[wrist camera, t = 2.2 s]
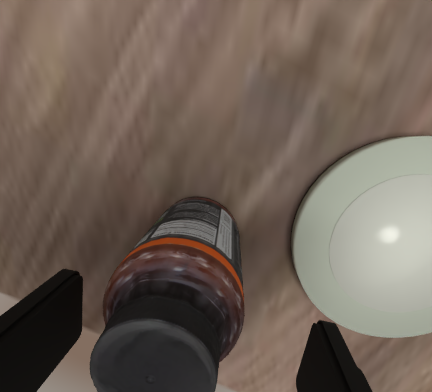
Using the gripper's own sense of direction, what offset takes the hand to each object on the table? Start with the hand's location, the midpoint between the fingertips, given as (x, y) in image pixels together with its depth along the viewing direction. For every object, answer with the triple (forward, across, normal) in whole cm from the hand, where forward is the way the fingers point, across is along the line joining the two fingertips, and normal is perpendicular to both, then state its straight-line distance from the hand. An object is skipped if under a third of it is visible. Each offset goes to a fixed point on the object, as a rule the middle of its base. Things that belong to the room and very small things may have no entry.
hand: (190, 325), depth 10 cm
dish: (+9, -12, -2) cm, 16 cm away
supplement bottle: (+9, +1, 0) cm, 9 cm away
